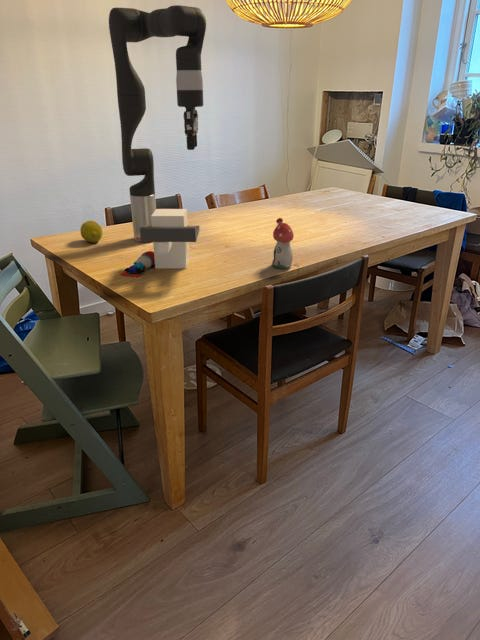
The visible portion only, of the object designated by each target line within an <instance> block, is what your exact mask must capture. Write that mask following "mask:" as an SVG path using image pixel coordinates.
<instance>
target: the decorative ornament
mask: <svg viewBox="0 0 480 640" xmlns="http://www.w3.org/2000/svg"><path fill="white" fill-rule="evenodd" d="M283 221H284V219H283V218H282V217H279V218H277V219H276V220H275V222H276V223H277V225H276V227H274V230H273V233H272V237H273V239H274V240H275V241H276V244H275V246H274V250H273V260H272V263H271V264H272V266H273V268H275V269H278V270H285V269H289V268H291V266H292V264H293V260H294V259H293V258H294V255H293V254H294V253H293V248H292V246H291V242H292V241H293V239H294V232H293V229H292V228H291V226H290V225H289V224H288V223H286V222H283Z"/></svg>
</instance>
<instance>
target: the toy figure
mask: <svg viewBox="0 0 480 640" xmlns="http://www.w3.org/2000/svg"><path fill="white" fill-rule="evenodd" d="M153 266H155V258H154V251H152V250H148V251H145V252H143V253H142V254H141V255H140V256H138V257H137V259H136V260H135V261H134V262H133V265H130V266H129V267H126V268H124V269H123V271H122V272H121V273H120V276H123V275H124V277H126V276H128V277H129V276H130V277H129V278H133V277H136V278H135V279H138V278H139V277H140V276H141V275H142V274H144V273H145V272H146V269H148V268H151V267H153ZM140 273H141V274H140ZM137 277H138V278H137Z"/></svg>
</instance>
